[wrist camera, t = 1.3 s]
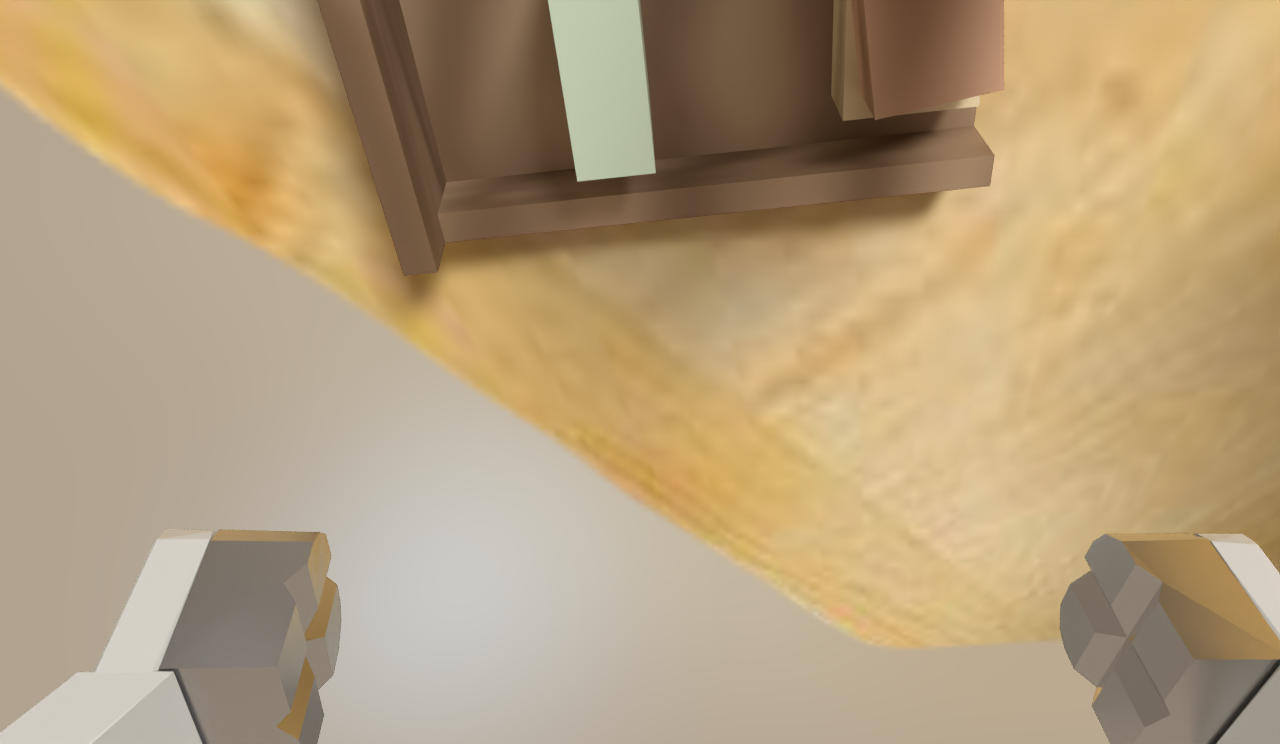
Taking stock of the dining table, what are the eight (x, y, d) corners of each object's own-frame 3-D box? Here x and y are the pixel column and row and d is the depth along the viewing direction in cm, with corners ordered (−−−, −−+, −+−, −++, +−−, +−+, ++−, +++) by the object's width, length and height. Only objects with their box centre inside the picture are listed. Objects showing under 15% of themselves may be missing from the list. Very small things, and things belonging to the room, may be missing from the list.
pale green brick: (630, -94, 30) (634, -34, 25) (648, 88, 33) (655, 173, 28) (555, -85, 30) (544, -23, 25) (582, 95, 34) (577, 181, 29)
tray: (1021, -298, 27) (1089, -282, 23) (965, 148, 36) (1008, 213, 32) (309, -207, 28) (262, -178, 24) (425, 205, 37) (404, 275, 33)
